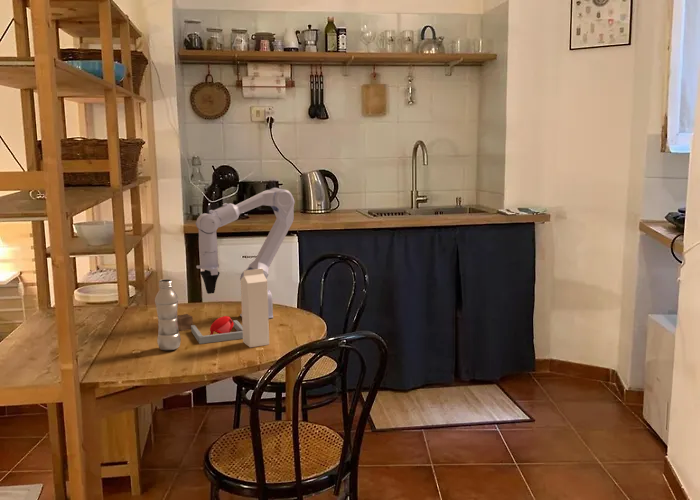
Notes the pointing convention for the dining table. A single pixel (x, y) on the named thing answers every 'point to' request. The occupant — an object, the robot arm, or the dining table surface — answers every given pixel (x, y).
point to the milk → (255, 308)
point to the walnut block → (184, 322)
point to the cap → (222, 325)
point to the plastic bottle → (167, 316)
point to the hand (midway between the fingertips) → (210, 293)
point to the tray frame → (218, 337)
